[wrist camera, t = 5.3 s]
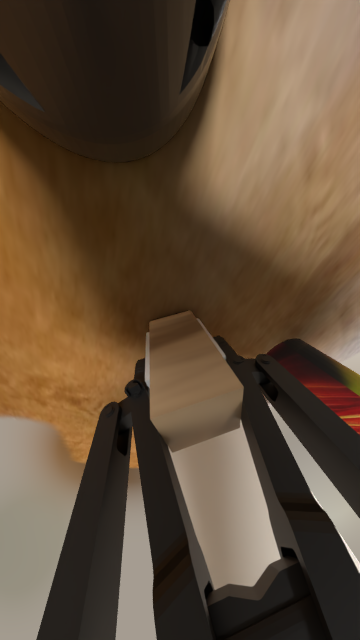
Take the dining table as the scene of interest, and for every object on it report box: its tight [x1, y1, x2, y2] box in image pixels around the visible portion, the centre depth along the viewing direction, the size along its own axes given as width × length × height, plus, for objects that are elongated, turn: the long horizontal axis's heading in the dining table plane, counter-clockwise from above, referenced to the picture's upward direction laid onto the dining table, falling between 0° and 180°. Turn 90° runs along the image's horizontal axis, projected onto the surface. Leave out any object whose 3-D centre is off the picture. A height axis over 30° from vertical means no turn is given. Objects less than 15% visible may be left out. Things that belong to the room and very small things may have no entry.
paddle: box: [149, 310, 244, 453], centre depth 17 cm, size 25×5×10 cm, turn 11°
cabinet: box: [168, 422, 360, 590], centre depth 21 cm, size 15×18×20 cm
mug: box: [267, 339, 360, 435], centre depth 21 cm, size 10×14×12 cm
